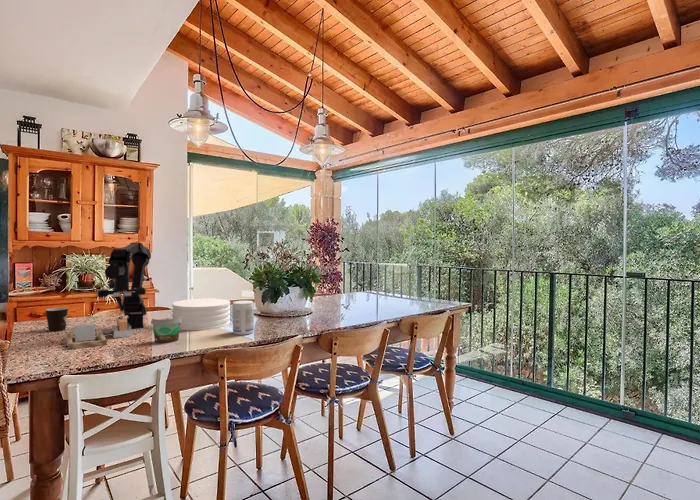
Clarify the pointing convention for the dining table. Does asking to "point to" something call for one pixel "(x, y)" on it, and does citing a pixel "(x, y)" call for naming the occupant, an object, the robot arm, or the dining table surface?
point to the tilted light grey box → (84, 332)
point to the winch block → (119, 332)
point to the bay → (86, 344)
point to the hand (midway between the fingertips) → (121, 311)
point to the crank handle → (121, 324)
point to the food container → (166, 330)
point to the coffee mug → (56, 319)
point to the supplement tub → (243, 317)
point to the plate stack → (202, 313)
